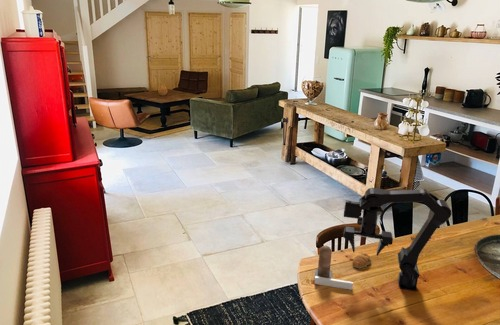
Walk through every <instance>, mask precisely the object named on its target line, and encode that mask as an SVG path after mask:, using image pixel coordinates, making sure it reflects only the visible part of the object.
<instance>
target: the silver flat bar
mask: <svg viewBox="0 0 500 325" xmlns="http://www.w3.org/2000/svg"><path fill="white" fill-rule="evenodd" d="M314 277H315V279H314V285H321V286H327V287H333V288H338V289H345V290H351V291H353V286H354V282H353V281H348V280H342V279H335V278H332V279H330V278H324V277H317V276H315V275H314Z"/></svg>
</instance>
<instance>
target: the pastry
mask: <svg viewBox="0 0 500 325" xmlns="http://www.w3.org/2000/svg"><path fill="white" fill-rule="evenodd" d="M372 262H373V261H372V259H371V257H370V255H369V254H367V253H365V252H364V253H363V252H361V253H359V254H357V255H356V256H354V258H353V260H352V267H354V268H356V269H362V268H366V267H368V266H369V265H370V264H371V263H372ZM367 265H368V266H367Z"/></svg>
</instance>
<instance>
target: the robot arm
mask: <svg viewBox="0 0 500 325" xmlns="http://www.w3.org/2000/svg"><path fill="white" fill-rule="evenodd" d="M391 203H392V204H397V203H399V204H400V203H423V204H424V206H426V207H427V208H428V209H429V211H428V216H427V219H426V220H425V222H424V223H423V225H422V226H421V228H420V229H419V232H417V234H416V235H415V237H414V239H412V242H411V243H410V244H409V246H408V247H406V248H405V247H403V246H402V247H401V249H400V251H399V252H397V262H398V267H399V269H400V271H399V272H398V278H397V282H398V285H399V289H402V290H408V291H415V292H417V291H418V288H417V285H418V280H419V278H420V273H419V272H420V271H419V268H418V260H419V256H420V254H421V253H422V251H423V249H424V248H425V247H426V245H427V244H428V242H429V241H430V239H431V238H432V236H433V234H434V233H435V231H436V230H437V229H438V228H439V227H440V226H442V225H444V224H446V222H447V221H448V220H450V218H451V216H452V215H453V214H452V210H451V208H450V206H449V204H448V203H447V201H446V200H444V199H441V198H438V197H437V196H436V195H435V194H433V193H431V192H430V191H429V190H428V189H426V188H421V189H405V190H404V189H403V190H402V189H401V190H400V189H399V190H397V189H396V190H387V189H383V188H379V187H369V188H367V189H366V190H365V192H364V195H362V197H360V198H359V201H352V200H348V199H347V200H345V203H344V208H343V217H344V218H348V219H356V225H359V226H360V230H359V231H358V230H355V227H353V226H344V229H343V239H345V240H346V241H348V242H349V244H350V246H351V249H352V251H353V253H355V252H356V250H355V249H356V248H355V246H356V245H355V236H356V237H361V238H370V239H377V240H379V242H378V245H377V249H376V256H377V257H378V256H379V254H380V253H381V252H382V251H383V249H385V247H388V246H389V245H390V246H391V245H393V242H394V237H393V234H392V232H391V231H385V230H382V231H381V232H380V233H376V232H377V226H378V225H377V224H378V216H379V213H384V212H385V209H384V205H387V204H391Z"/></svg>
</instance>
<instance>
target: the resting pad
mask: <svg viewBox="0 0 500 325" xmlns="http://www.w3.org/2000/svg"><path fill="white" fill-rule="evenodd" d="M315 276H317V277H320V276H318V267H317V268H315V271H314V277H313V279H314V280H315ZM332 277H333V270H330V275H329V277H327V278H330V279H333V278H332Z"/></svg>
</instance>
